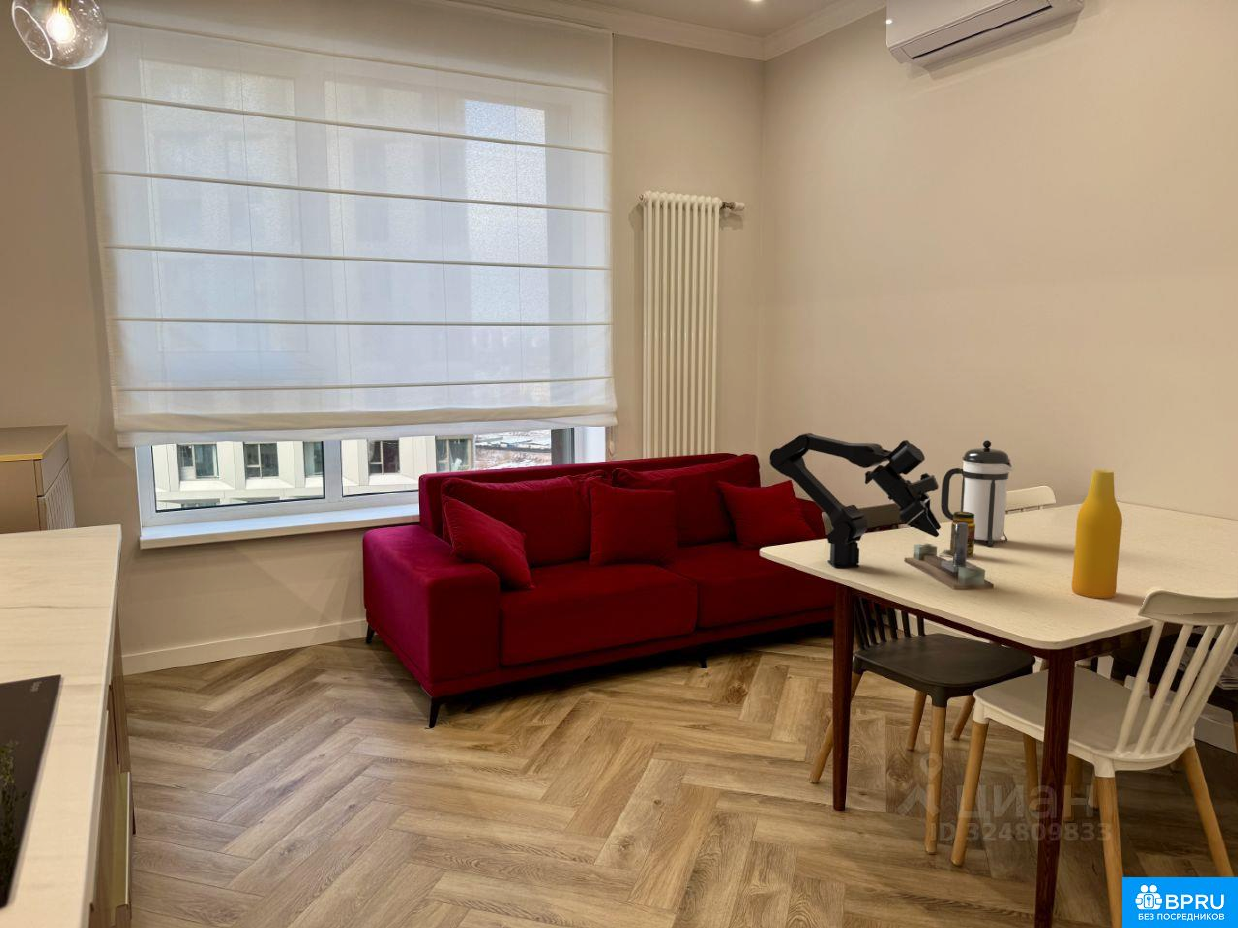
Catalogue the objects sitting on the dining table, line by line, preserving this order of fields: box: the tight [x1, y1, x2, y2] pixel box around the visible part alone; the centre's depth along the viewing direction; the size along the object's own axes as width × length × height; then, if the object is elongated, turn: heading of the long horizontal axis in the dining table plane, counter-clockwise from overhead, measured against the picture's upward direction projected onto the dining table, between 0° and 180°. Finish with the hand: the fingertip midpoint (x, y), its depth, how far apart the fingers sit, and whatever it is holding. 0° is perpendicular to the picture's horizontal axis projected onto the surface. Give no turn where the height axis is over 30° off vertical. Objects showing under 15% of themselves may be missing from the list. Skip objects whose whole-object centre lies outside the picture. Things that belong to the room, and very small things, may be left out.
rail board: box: [903, 542, 995, 590], centre depth 222 cm, size 10×27×5 cm, turn 7°
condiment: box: [939, 510, 977, 560], centre depth 242 cm, size 7×8×12 cm
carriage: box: [942, 522, 978, 572], centre depth 215 cm, size 6×6×11 cm
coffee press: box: [940, 440, 1014, 548], centre depth 258 cm, size 17×16×30 cm
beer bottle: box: [1071, 469, 1123, 600], centre depth 204 cm, size 9×9×29 cm
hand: (938, 532), depth 217 cm, fingers open, 9 cm apart
